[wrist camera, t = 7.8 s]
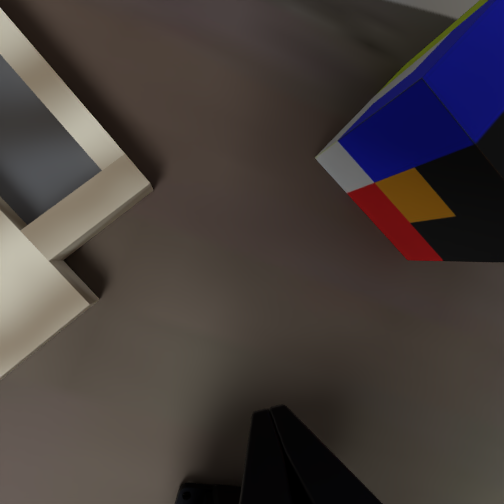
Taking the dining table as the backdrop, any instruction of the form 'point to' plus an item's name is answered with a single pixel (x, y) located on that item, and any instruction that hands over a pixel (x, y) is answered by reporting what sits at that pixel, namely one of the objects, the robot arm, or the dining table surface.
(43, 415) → the dining table surface
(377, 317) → the dining table surface
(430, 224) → the puzzle toy
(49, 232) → the board
